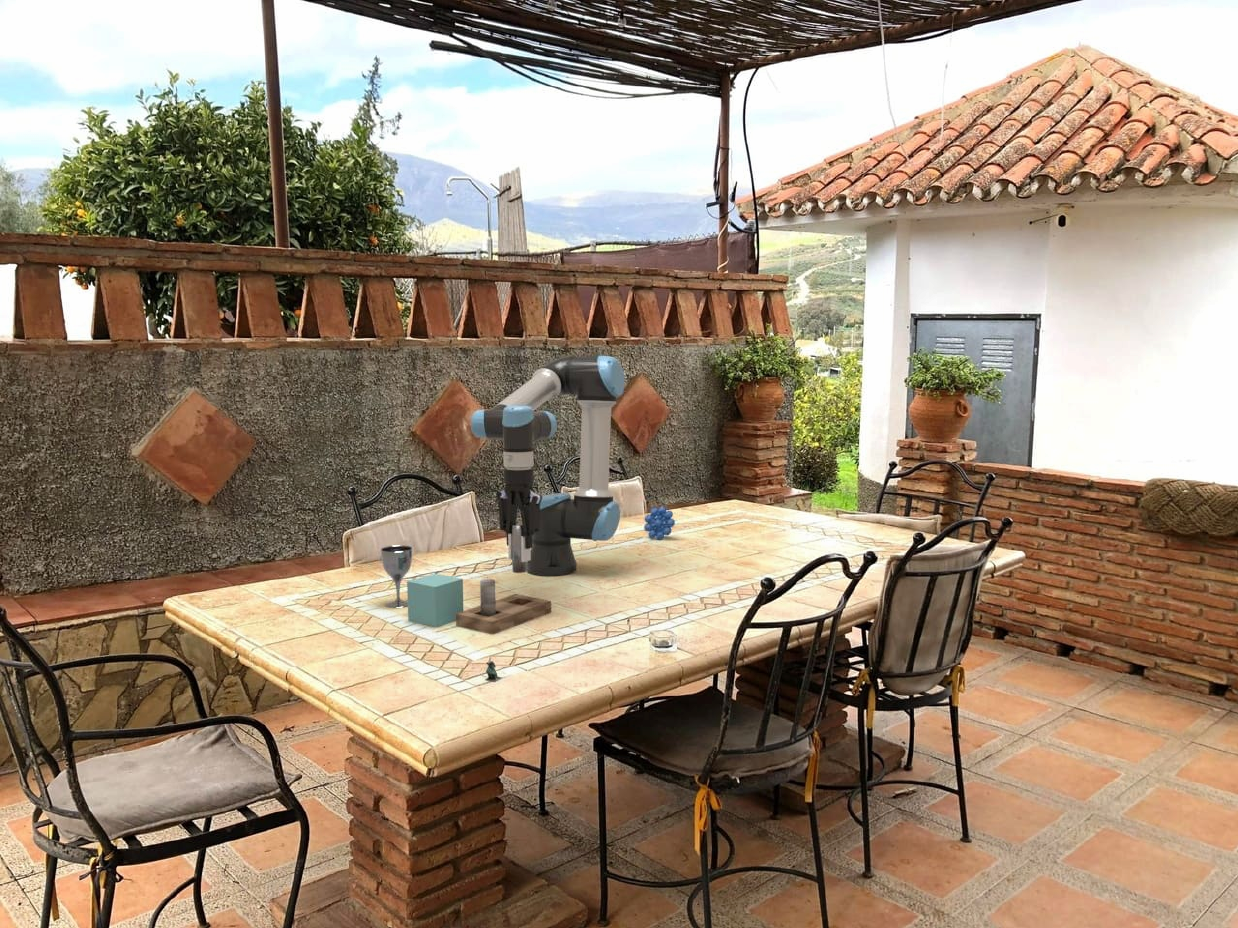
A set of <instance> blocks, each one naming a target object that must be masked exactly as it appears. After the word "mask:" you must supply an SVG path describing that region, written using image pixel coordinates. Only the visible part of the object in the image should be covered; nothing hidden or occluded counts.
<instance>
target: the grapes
mask: <svg viewBox="0 0 1238 928" xmlns="http://www.w3.org/2000/svg"><path fill="white" fill-rule="evenodd" d="M673 515H674V513H673V511H672V510H667V508H666V506H664V505H663V506H659V508H657V507H652V508H651V509H650V513H649V514H646V515H645V517H644V522H646V524H644V525H643V526H644V527H643V529H644V531H645V532H648V537H649V538H650V539H655V538H656V539H657V540H663V538H665V536H669V535H670V534H672V528H673V527H674V526H675V524H676V521H675V519H674V518H673Z"/></svg>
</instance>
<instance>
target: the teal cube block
mask: <svg viewBox="0 0 1238 928" xmlns="http://www.w3.org/2000/svg"><path fill="white" fill-rule="evenodd" d="M406 585H407V586H406V587H407V588H406V589H407V590H406V591H407V592H406V593H407V601H408V606H407V619H408V621H409V622H414V623H418V624H420V625H421V624H422V625H424V626H429V627H434V628H437V627H440V626H443V625H447V624H449V623H452V622H456V613H459V612H462V611H465V610H464V609H465V608H464V579H463V578H460V577H456V576H455V577H454V576H450V575H445V574H440V573H432V574H429V575H425V576H421V577H418V578H414V579H411V580H407V581H406Z"/></svg>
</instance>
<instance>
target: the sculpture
mask: <svg viewBox="0 0 1238 928" xmlns="http://www.w3.org/2000/svg"><path fill="white" fill-rule="evenodd" d="M486 665H487V668H486V674H487V678H485V679H484V681H488V682H493V683H496V682H498V681H501V680H502V679H503V677H500V676H498V673H497V671H496V669H495V668H496V667H497V666H496V664H495V662H494V661H493V660H491V661H487V662H486Z"/></svg>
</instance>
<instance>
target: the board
mask: <svg viewBox="0 0 1238 928" xmlns="http://www.w3.org/2000/svg"><path fill="white" fill-rule="evenodd" d="M479 584H480V585H479V586H480V587H479V589H480V593H479V595H480V605H478V606H475V607H472V608H468V609H465V610H464V611H462V612H459V613H456V621H455V625H456V626H457V627H461V628H465V629H469V630H474V631H478V632H483V633H486V634H491V635H494V634H497V633H500V632H503V631H505V630H507V629H511V628H513V627H516V626H518V625H521V624H524V623H527V622H529V621H532V620H535V619H538V618H540V617H543V616H545V615H548V614H550V613H552V601H551V600H548V599H544V598H540V597H539V598H538V597H533V596H528V595H523V594H519V593H513V594H511V595H508V596H505V597H502V598H499V599H496V580H495V579H492V578H485V579H481V580H480V581H479Z"/></svg>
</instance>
